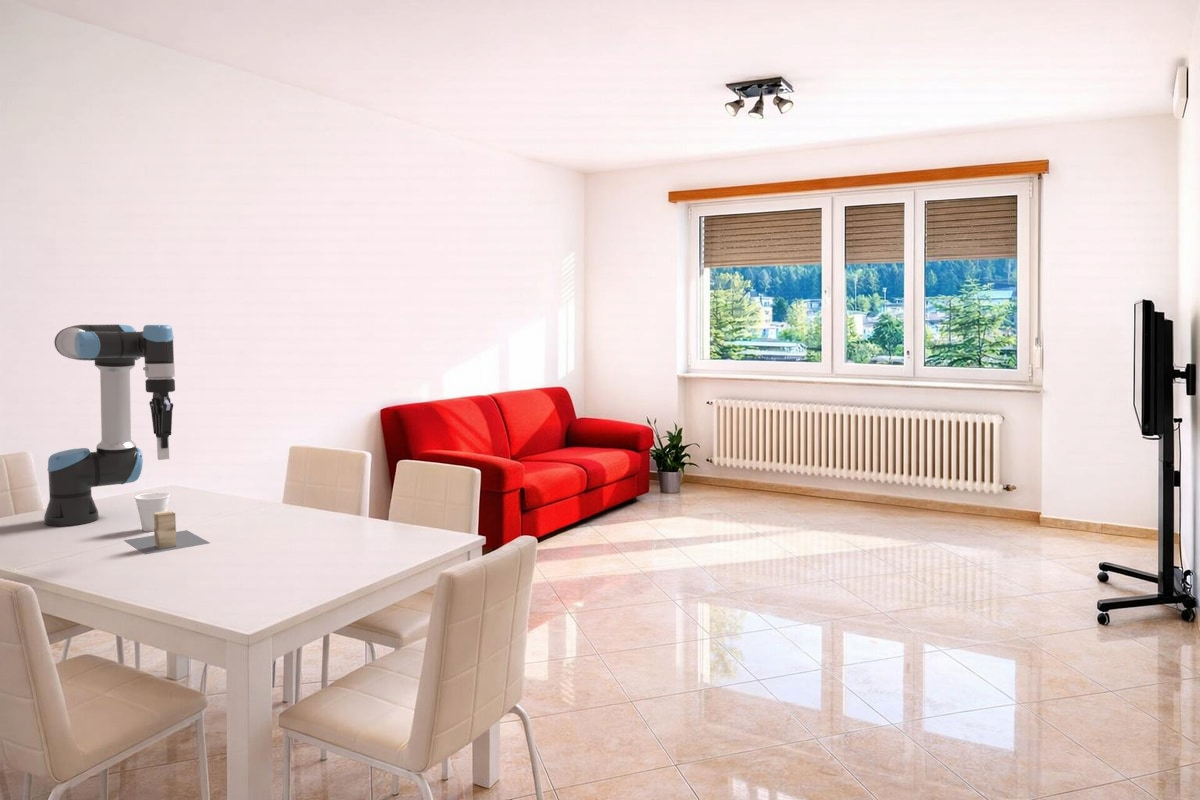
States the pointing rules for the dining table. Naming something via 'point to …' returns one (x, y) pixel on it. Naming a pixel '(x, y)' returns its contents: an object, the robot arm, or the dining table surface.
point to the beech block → (165, 529)
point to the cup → (150, 508)
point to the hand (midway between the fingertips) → (163, 459)
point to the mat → (182, 541)
